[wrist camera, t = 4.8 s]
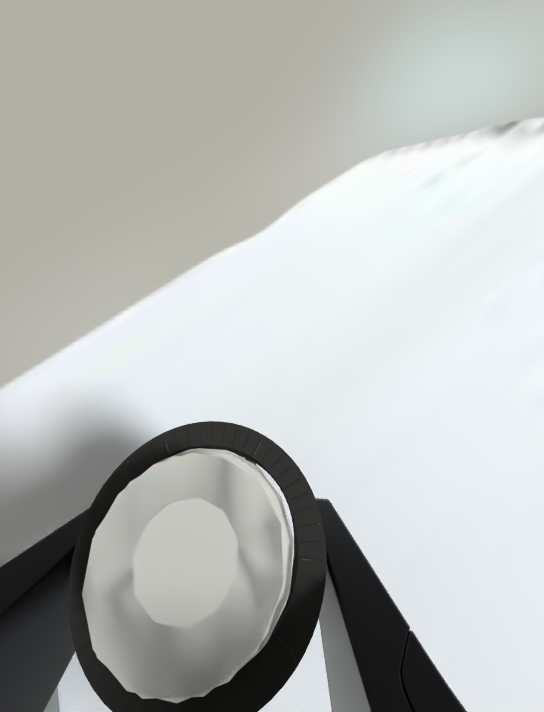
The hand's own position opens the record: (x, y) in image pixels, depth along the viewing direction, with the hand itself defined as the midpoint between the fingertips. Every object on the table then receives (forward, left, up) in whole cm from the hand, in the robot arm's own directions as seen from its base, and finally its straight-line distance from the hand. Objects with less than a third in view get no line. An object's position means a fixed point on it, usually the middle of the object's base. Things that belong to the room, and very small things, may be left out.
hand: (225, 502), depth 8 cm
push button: (-1, 0, -7) cm, 7 cm away
